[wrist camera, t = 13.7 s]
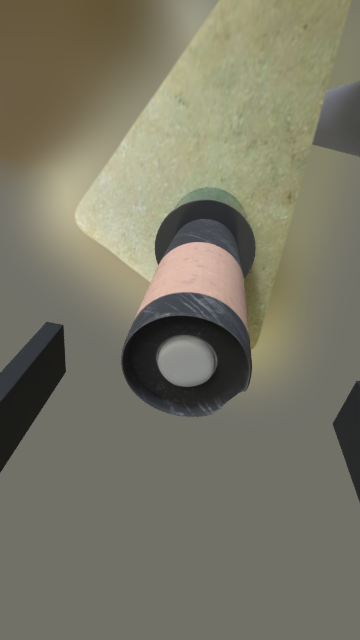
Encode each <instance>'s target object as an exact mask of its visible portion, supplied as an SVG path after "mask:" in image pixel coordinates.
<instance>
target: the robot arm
mask: <svg viewBox="0 0 360 640" xmlns="http://www.w3.org/2000/svg"><path fill="white" fill-rule="evenodd" d="M64 348H65V347H64V329H63V325H60V324H55V323H50V322H46V323H45V324H44V325H43V327H42V328H41V329H40V330H39V331H38V332H37V333H36V334H35V335H34V336H33V338H32V339H31V340H30V341H29V342H28V343H27V344H26V345H25V346H24V347H23V349H22V350H21V351H20V352H19V353H18V354H17V355H16V356H15V357H14V358H13V360H12V361H11V362H10V363H9V364H8V365H7V366H6V367H5V368H4V369H3V371H2V372H1V373H0V472H1V471H2V469H3V468H4V466H5V465H6V463H7V461H8V460H9V458H10V457H11V455H12V454H13V452H14V450H15V449H16V448H17V446H18V445H19V443H20V441H21V440H22V438H23V436H24V435H25V434H26V432H27V431H28V429H29V427H30V426H31V425H32V423H33V421H34V420H35V418H36V417H37V415H38V414H39V412H40V411H41V409H42V408H43V406H44V405H45V403H46V402H47V400H48V398H49V397H50V395H51V393H52V392H53V391H54V389H55V388H56V386H57V385H58V383H59V382H60V380H61V378H62V377H63V375H64V374H65V372H66V368H65V367H66V366H65V349H64ZM333 426H334V429H335V432H336V435H337V438H338V440H339V443H340V446H341V449H342V452H343V455H344V458H345V461H346V464H347V467H348V470H349V472H350V475H351V478H352V481H353V484H354V487H355V490H356V493H357V496H358V498H359V501H360V381H356V383H355V385H354V387H353V389H352V390H351V392H350V394H349V396H348V397H347V399H346V401H345V403H344V405H343V406H342V408H341V410H340V412H339V413H338V415H337V417H336V419H335V421H334V422H333Z"/></svg>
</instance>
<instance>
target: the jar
mask: <svg viewBox="0 0 360 640" xmlns="http://www.w3.org/2000/svg"><path fill="white" fill-rule="evenodd" d="M198 219H210V220H214V221H217V222H219V223H221V224H223V225H224V226H226V227H227V228H228V229H229V230H230V231H231V233H232V234H233V236H234V238H235V240H236V243H237V247H238V252H239V257H240V262H241V267H242V272H243V277H244V278H245V277H246V275H247V274H248V273H249V271H250V269H251V267H252V264H253V261H254V257H255V239H254V235H253V232H252V229H251V227H250V225H249V223H248V221H247V220H246V216H245V213H244V210H243V208H242V206H241V205H240V203H239V202H238V201H237V200H236V198H235V197H233V196H232V195H231V194H229V193H228V192H226V191H224V190H221V189H217V188H201V189H197V190H194V191H192V192H190V193H189V194H187V195H186V196H185V197H183V198H182V199H181V200H180V202H179V203H178V204H177V206H176V207H175V209H174V210H173V211H171V212H170V213H169V214H168V215H167V217H166V218H165V219H164V221H163V222H162V224H161V226H160V228H159V230H158V233H157V236H156V241H155V255H156V260H157V263H158V265H159V263H160V261H161V260H162V258H163V256H164V254H165V252H166V251H167V249H168V247H169V245H170V244H171V242H172V240H173V238H174V237H175V235H176V234H177V232H178V231H179V230H180V229H181V228H182V227H183V226H184V225H186V224H187V223H189V222H192V221H194V220H198Z"/></svg>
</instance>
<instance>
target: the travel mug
mask: <svg viewBox="0 0 360 640" xmlns="http://www.w3.org/2000/svg"><path fill="white" fill-rule="evenodd" d="M121 365H122V371H123V374H124V377H125V379H126V381H127V383H128V385H129V386H130V388H131V389H132V390H133V391H134V393H135V394H136V395H137V396H138V397H139V398H140V399H142V400H143V401H144V402H146V403H147V404H149V405H150V406H152V407H154V408H156V409H158V410H161V411H163V412H166V413H169V414H173V415H178V416H186V417H199V416H207V415H211V414H214V413H216V412H218V411H219V410H220V408H221V407H222V406H223V405H224V404H225V403H226V402H227V401H229V400H230V399H231V398H233V397H234V396H235V395H237V394H238V393H240V392H242V391H246V390H247V388H248V386H249V383H250V378H251V372H252V360H251V349H250V339H249V328H248V318H247V307H246V297H245V286H244V277H243V272H242V267H241V262H240V257H239V252H238V247H237V243H236V240H235V238H234V236H233V234H232V233H231V231H230V230H229V229H228V228H227V227H226V226H224V225H223V224H221V223H219V222H217V221H214V220H210V219H198V220H194V221H192V222H189V223H187V224H186V225H184V226H183V227H182V228H181V229H180V230H179V231H178V232H177V234H176V235H175V237H174V238H173V240H172V242H171V244H170V245H169V247H168V249H167V251H166V252H165V254H164V256H163V258H162V260H161V261H160V263H159V265H158V267H157V269H156V272H155V274H154V276H153V278H152V281H151V283H150V285H149V288H148V290H147V292H146V295H145V297H144V299H143V302H142V304H141V306H140V308H139V311H138V313H137V315H136V317H135V320H134V322H133V324H132V327H131V329H130V331H129V333H128V336H127V338H126V340H125V343H124V346H123V350H122V356H121Z"/></svg>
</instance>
